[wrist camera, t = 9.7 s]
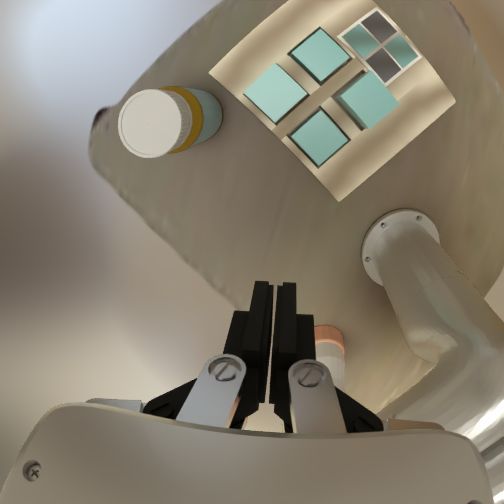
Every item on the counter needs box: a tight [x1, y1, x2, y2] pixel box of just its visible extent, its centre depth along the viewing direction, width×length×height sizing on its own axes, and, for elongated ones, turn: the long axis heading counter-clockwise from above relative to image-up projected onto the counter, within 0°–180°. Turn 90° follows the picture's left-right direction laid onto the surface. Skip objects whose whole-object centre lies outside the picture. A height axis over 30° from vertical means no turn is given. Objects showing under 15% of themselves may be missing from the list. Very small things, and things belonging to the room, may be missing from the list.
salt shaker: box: [314, 325, 345, 393], centre depth 42 cm, size 7×7×19 cm
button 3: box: [291, 29, 350, 83], centre depth 29 cm, size 5×5×4 cm
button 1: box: [336, 70, 399, 129], centre depth 28 cm, size 5×5×4 cm
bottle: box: [118, 86, 223, 158], centre depth 30 cm, size 7×7×15 cm
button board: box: [209, 0, 456, 202], centre depth 30 cm, size 22×21×4 cm
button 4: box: [243, 63, 307, 122], centre depth 29 cm, size 5×5×4 cm
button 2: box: [291, 110, 348, 165], centre depth 34 cm, size 5×5×4 cm
